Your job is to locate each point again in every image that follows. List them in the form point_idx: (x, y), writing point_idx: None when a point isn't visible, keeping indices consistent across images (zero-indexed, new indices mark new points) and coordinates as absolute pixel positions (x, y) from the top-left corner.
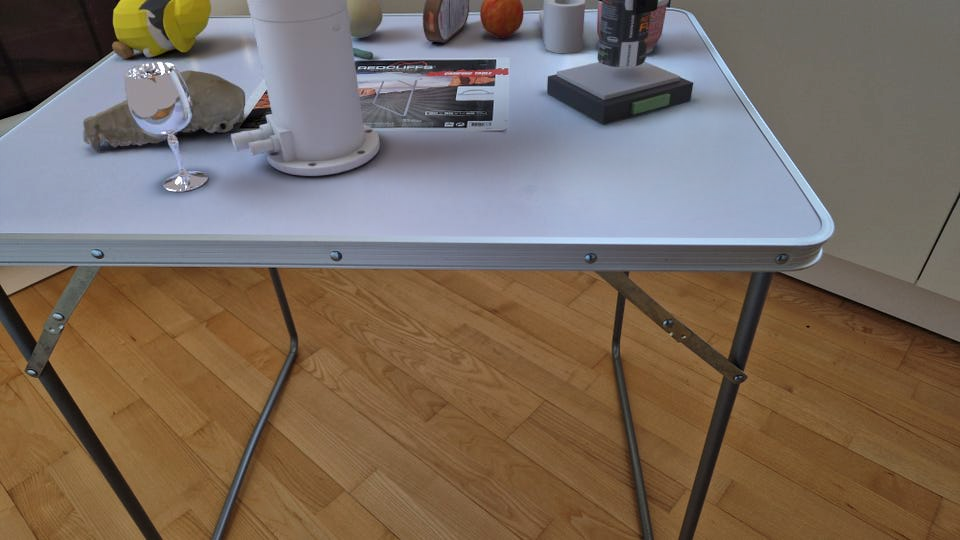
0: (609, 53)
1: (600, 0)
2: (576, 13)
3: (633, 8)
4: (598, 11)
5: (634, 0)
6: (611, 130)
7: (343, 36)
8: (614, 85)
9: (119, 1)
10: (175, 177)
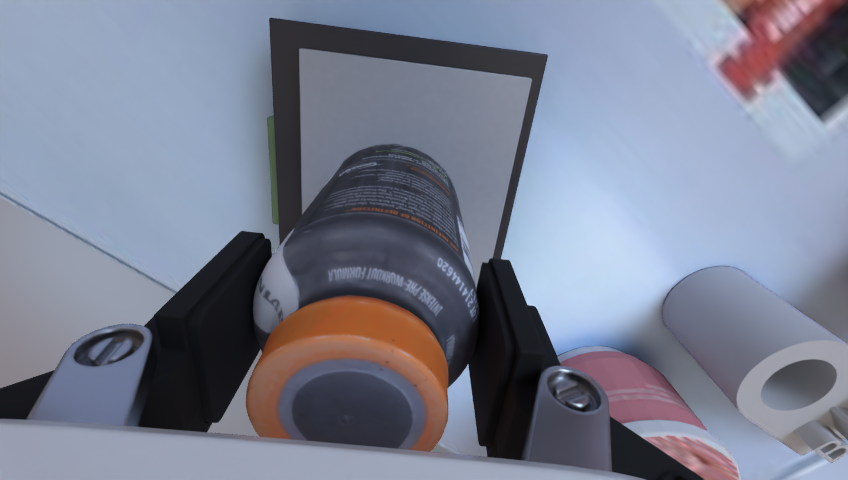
0: (368, 153)
1: (490, 261)
2: (727, 362)
3: (252, 236)
4: (685, 409)
5: (237, 253)
6: (251, 15)
7: None
8: (343, 128)
9: None
10: None
